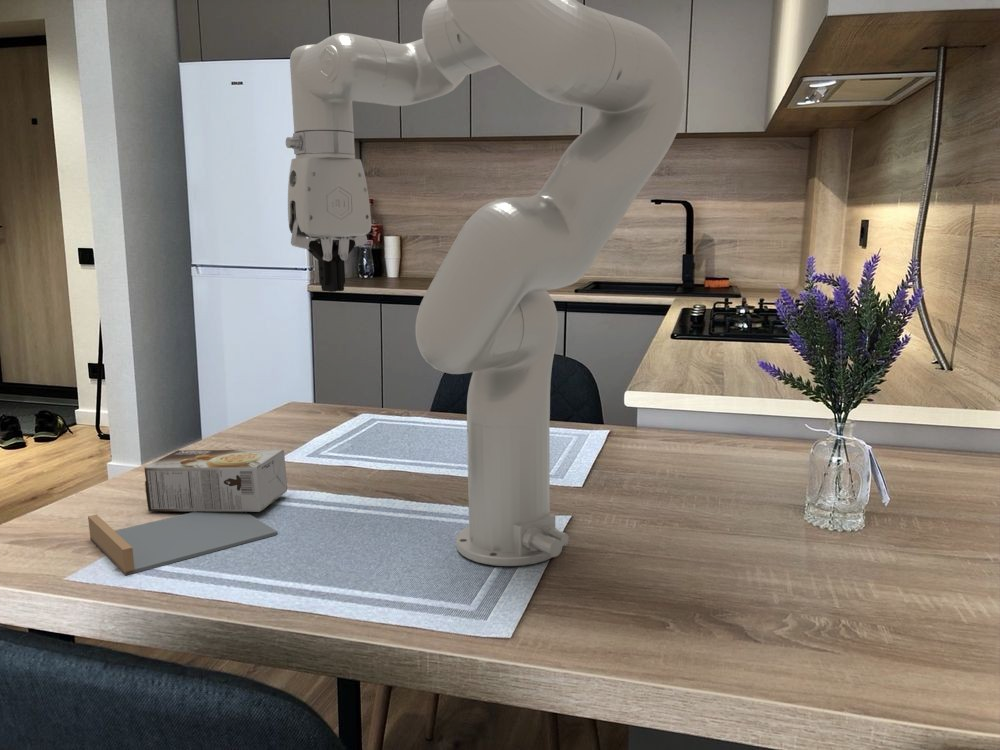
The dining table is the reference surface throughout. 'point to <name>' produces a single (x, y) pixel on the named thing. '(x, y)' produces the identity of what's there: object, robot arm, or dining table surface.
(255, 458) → the food box
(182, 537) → the board
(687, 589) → the dining table surface
